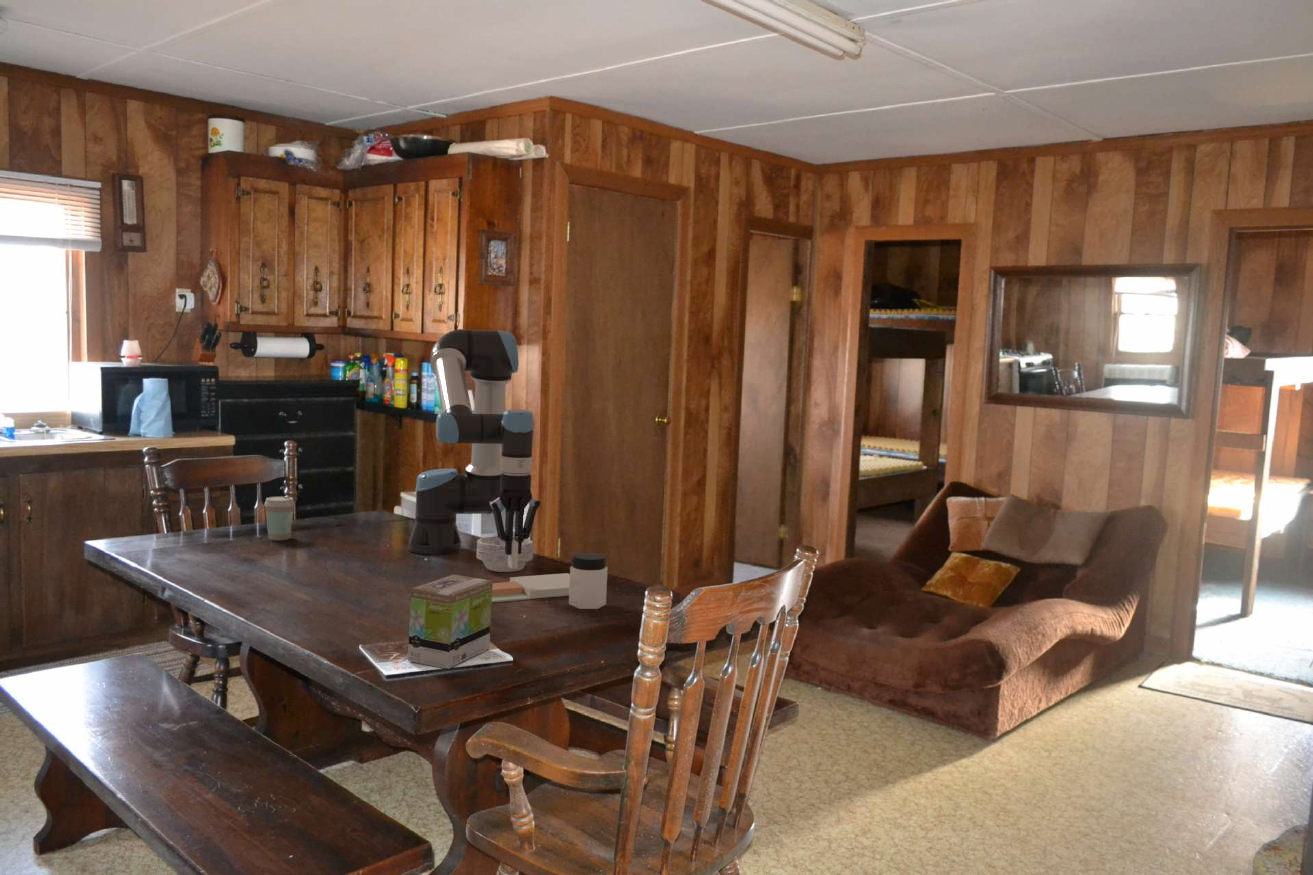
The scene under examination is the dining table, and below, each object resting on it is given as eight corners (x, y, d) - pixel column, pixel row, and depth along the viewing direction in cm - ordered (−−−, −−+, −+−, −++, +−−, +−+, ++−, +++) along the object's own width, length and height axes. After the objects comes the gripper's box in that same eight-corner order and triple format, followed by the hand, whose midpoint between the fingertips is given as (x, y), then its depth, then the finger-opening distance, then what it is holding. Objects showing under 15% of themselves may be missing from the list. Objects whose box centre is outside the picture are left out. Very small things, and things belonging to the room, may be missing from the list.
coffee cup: (288, 542, 301) (288, 501, 300) (259, 540, 301) (259, 500, 300) (298, 536, 309) (299, 496, 308) (270, 535, 309) (270, 495, 308)
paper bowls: (515, 560, 292) (516, 532, 291) (542, 572, 280) (543, 543, 279) (466, 565, 283) (467, 537, 282) (492, 577, 270) (493, 547, 270)
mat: (450, 589, 257) (450, 587, 256) (507, 584, 264) (507, 583, 264) (469, 604, 243) (469, 602, 243) (529, 599, 251) (529, 597, 251)
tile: (479, 590, 255) (479, 584, 255) (513, 587, 260) (514, 581, 260) (487, 596, 250) (488, 590, 250) (522, 593, 255) (522, 587, 254)
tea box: (450, 670, 197) (452, 594, 195) (406, 662, 200) (408, 587, 199) (491, 649, 211) (493, 578, 209) (449, 642, 214) (451, 572, 213)
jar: (580, 598, 254) (582, 550, 253) (610, 603, 251) (612, 554, 250) (563, 606, 246) (565, 557, 244) (594, 611, 243) (596, 561, 241)
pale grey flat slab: (509, 585, 263) (509, 577, 263) (567, 580, 271) (567, 573, 271) (529, 598, 251) (530, 590, 251) (589, 593, 259) (589, 585, 259)
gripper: (496, 476, 247) (492, 572, 250) (546, 474, 253) (542, 568, 256) (485, 471, 254) (482, 565, 256) (535, 470, 260) (531, 561, 262)
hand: (512, 567), depth 256 cm, fingers closed
